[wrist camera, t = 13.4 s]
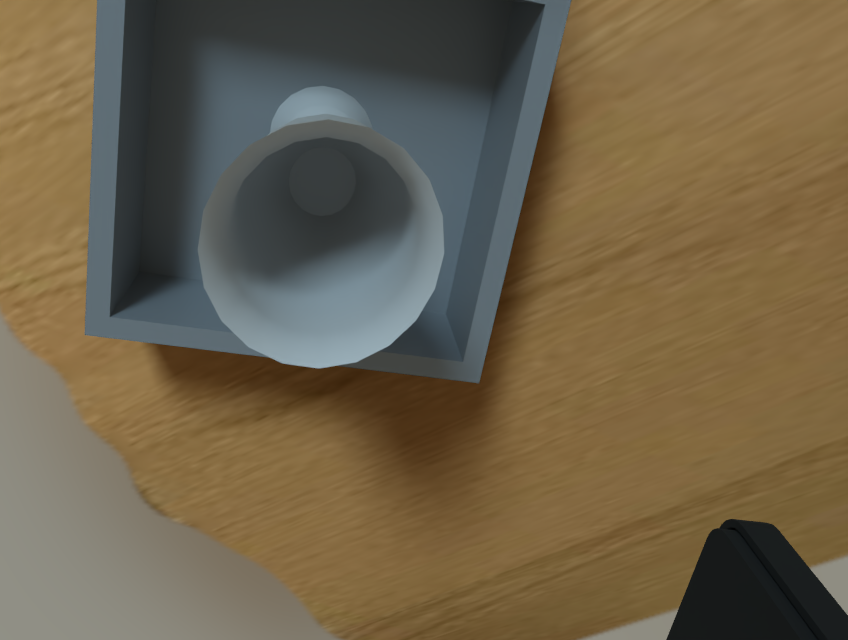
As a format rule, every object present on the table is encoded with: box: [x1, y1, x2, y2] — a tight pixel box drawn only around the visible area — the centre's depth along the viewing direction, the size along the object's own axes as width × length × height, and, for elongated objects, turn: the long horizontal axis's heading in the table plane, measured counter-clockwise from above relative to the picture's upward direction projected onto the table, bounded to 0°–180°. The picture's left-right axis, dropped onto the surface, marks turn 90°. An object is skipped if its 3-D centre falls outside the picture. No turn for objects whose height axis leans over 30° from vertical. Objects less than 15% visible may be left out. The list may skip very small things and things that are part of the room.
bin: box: [85, 0, 571, 383], centre depth 37 cm, size 18×18×7 cm
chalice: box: [198, 86, 444, 369], centre depth 31 cm, size 7×7×18 cm
